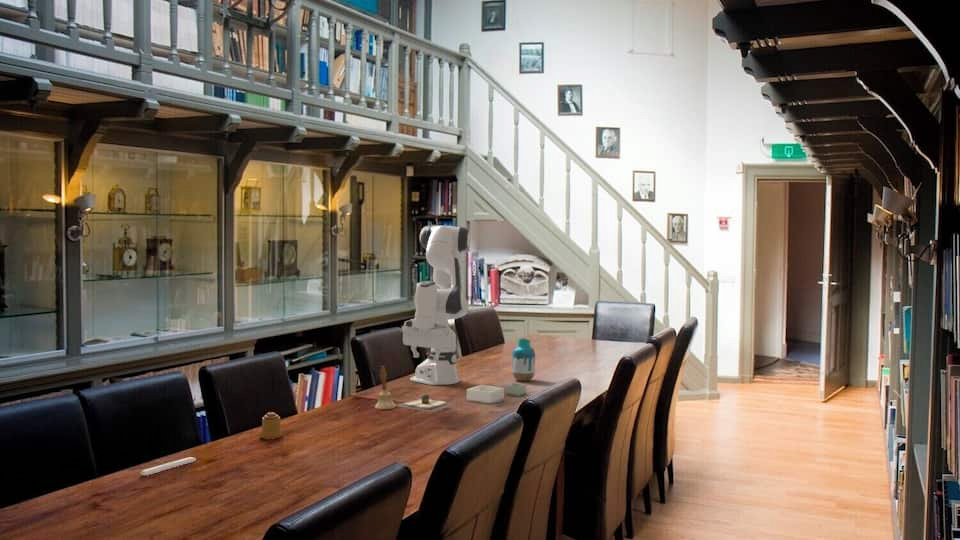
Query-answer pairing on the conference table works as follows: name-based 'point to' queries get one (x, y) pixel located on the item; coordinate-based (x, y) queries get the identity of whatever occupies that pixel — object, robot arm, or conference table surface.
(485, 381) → the conference table surface
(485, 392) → the dish
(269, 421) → the ornamental finial
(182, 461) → the marker
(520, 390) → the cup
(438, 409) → the mat
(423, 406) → the lid
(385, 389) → the hand bell
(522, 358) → the vase
